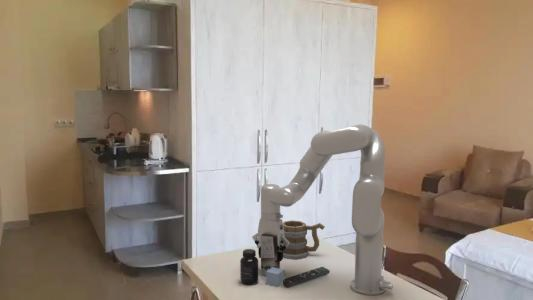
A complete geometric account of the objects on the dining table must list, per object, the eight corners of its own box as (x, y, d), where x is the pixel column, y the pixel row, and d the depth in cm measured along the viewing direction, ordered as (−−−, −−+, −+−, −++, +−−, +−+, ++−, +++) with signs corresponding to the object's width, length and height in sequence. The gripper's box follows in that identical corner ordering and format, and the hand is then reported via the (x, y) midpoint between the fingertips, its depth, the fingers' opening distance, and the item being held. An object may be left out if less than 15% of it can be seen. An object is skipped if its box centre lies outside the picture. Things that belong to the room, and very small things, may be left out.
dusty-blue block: (284, 282, 165) (284, 269, 164) (277, 287, 161) (277, 274, 160) (272, 279, 168) (272, 267, 167) (266, 284, 163) (266, 271, 163)
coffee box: (276, 277, 169) (276, 236, 168) (260, 275, 171) (260, 235, 169) (280, 268, 178) (280, 229, 176) (265, 267, 180) (265, 228, 178)
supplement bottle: (262, 281, 166) (262, 250, 164) (249, 287, 161) (249, 255, 159) (249, 276, 170) (249, 246, 169) (236, 281, 165) (236, 251, 164)
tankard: (275, 257, 191) (276, 224, 189) (283, 248, 203) (283, 216, 201) (321, 262, 185) (321, 228, 183) (326, 252, 197) (326, 220, 195)
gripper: (294, 216, 171) (294, 260, 173) (256, 211, 180) (257, 252, 182) (285, 221, 164) (285, 266, 166) (246, 215, 173) (247, 257, 175)
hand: (270, 258), depth 174 cm, fingers closed on coffee box, 7 cm apart
